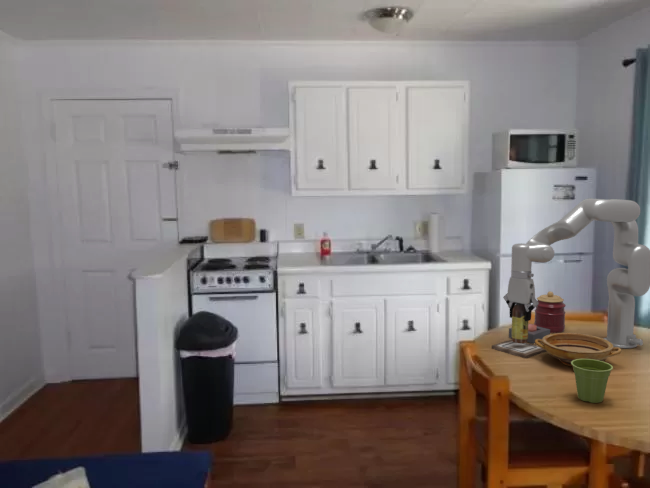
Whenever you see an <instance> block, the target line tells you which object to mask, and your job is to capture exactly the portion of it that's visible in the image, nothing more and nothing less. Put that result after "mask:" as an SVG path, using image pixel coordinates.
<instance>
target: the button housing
mask: <svg viewBox="0 0 650 488" xmlns="http://www.w3.org/2000/svg"><path fill="white" fill-rule="evenodd" d="M549 334H551V333H550V329H546V328H542V327H538V326H537V331H534V332H529V331H528V339H527V342H526V343H528V342H529V344H533V345H535V344H536V343H535V340H536V339H541V340H542V338H543V337H544V336H546V335H549ZM508 338H509V339H510V338H511V339H512V327H510V328H508ZM534 343H535V344H534Z"/></svg>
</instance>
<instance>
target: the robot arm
mask: <svg viewBox="0 0 650 488" xmlns="http://www.w3.org/2000/svg"><path fill="white" fill-rule="evenodd" d="M640 214H641V206H640V205H639V204H638V203H637V202H636V201H635V200H630V199H619V198H617V199H616V198H612V199H611V198H609V199H603V198H591V197H590V198H586V199H583V200H581V201H580V202H579V203H578V204H577V205H575V206H574V207H573V208H572V209H570V211H568V212H567V213H566V214H565V215H563V217H561V218H560V219H559V220H557V221H556V222H554V223H552V224H550V225H549V226H547V227H544V228H542V229H541V230H540V231H538V232H537V233H535V234H534V235H533V236H532V237H531V238H530V239H528V241H527V242H526V243H514V244H513V245H512V247H511V268H510V269H511V271H510V277H509V279H508V285H507V293H505V295H504V296H503V299H504V302H505V303H506V304H507V307H508V308H509V318H511V319H512V311H513V308H514V306H515V305H516V303H521V304H524V305H525V308H526V311H525V321H528V322H529V321H531V320H532V311H534V310H535V309H536V306H537V305H538V304H539V303H538V300H537V298H536V288H535V287H536V286H535V281H534V278H533V277H534V273H532V267H533V265H532V264H533V263H542V264H543V263H549V262H550V261H552V260H553V259H554V257H555V250H554V248H553V247H552V246H551V245H552V244H555V243H557V242H560V241H563V240H564V241H565V240H568V239H571V238H573V237H576V236H578V234H579V233H580V232H581V231H583V230H584V229H585V228H586V227H587V226H588V225H590V224H591V223H592V222H593V221H597V222H606V223H607V222H608V223H611V224H612V227H613V236H614V237H613V247H612V258H613V261H614V262H615V263H617V264H619V265H621V266H625V267H627V268H625V267H616V268H613V269H611V271H609V272H608V274H607V277H606V285H607V291H608V305H607V306H608V307H607V329H606V337H604V338H602V339H605V340H607V341H609V342H611V343H612V344H613V348H614V347H619V348H620V349H633V348H636V347H637V346H643V344H644V341H643V339H641V338H637V335H636V334H634V327H635V326H634V325H635V310H636V309H635V307H636V300H635V297H642V296H644V295H646V294H647V293H648V292H649V290H650V248H649V247H648V246H646V245H643V244H641V243H639V226H638V223H637V221H636V220H637V219H638V218H639V216H640Z"/></svg>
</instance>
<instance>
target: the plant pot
mask: <svg viewBox="0 0 650 488" xmlns="http://www.w3.org/2000/svg"><path fill="white" fill-rule="evenodd" d="M571 364H572V365H573V366H572V369H573V372H574V377H575V385H576V393H577V398H578V400H581V401H583V402H589V403H591V404H596V403H598V404H599V403H602V402H603V401H604V397H605V394H606V389H607V387H608V386H607V384H608V380H609V377H610V376H611V375H610V374H611V372H612V371H613V368H614V367H613V365H612V364H610V363H608V362H605V361H599V360H594V359H576V360H573V361H572V362H571Z"/></svg>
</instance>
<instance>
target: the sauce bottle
mask: <svg viewBox="0 0 650 488" xmlns="http://www.w3.org/2000/svg"><path fill="white" fill-rule="evenodd" d="M525 311H526V308H525V305H524V304H521V303H516V304H515V306H514V308H513V311H512V318H511V328H512V338H511V340H512V341H513V342H515V343H528V342H527V339H528V324H529V321H525Z"/></svg>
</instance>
